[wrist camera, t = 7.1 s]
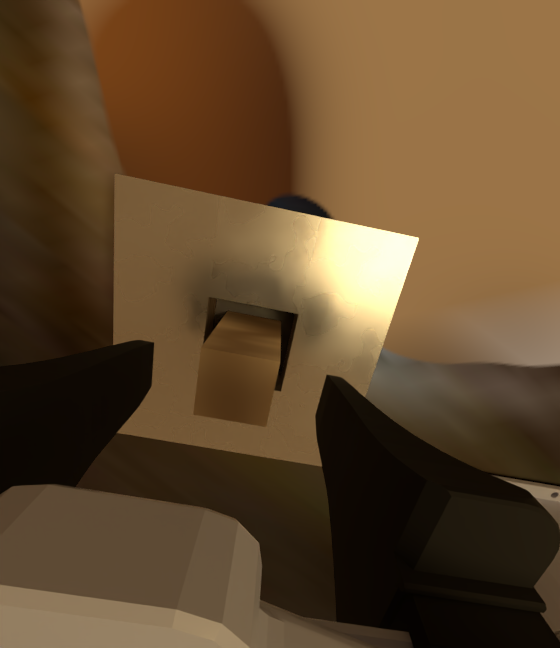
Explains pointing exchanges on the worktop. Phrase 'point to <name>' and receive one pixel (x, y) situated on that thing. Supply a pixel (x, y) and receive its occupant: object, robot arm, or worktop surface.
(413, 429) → the worktop surface
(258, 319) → the wooden block
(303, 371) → the plate with square hole
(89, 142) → the worktop surface
